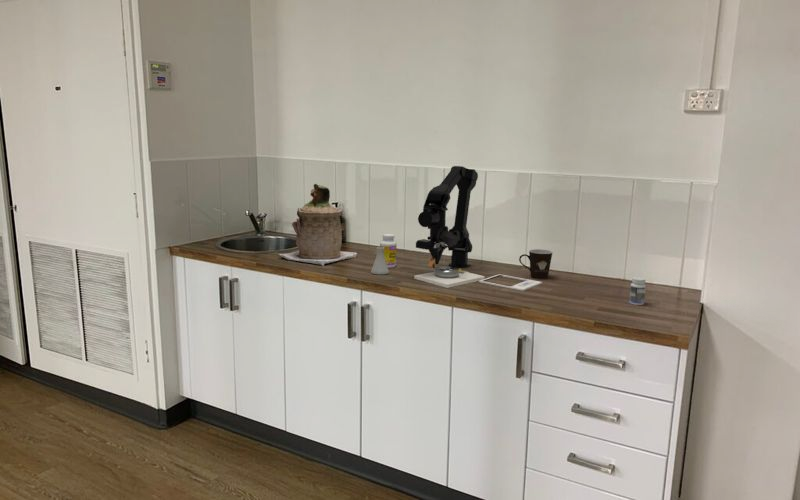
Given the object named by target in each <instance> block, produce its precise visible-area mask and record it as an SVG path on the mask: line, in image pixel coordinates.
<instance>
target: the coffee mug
mask: <svg viewBox="0 0 800 500" xmlns="http://www.w3.org/2000/svg"><path fill="white" fill-rule="evenodd" d="M553 253H554V252H553V251H552V250H550V249H549V250H548V249H542V248H537V249H536V248H535V249H534V248H533V249H530V250H529V255H528V254H522V255H520V256H519V258H518V261H519V263H520V264H521V265H522V266H523V267H524V268H525V269H527V270H528V271H529V272H530V273H529V274H530V278H531V279H533V280H534V279H535V280H547V279H548V278H549V273H550V270H551V269H550V267H551V262H552V257H553ZM522 257H527V259H528V260H529V267H528V266H527V265H525V264H524V263H523V262H522Z"/></svg>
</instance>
